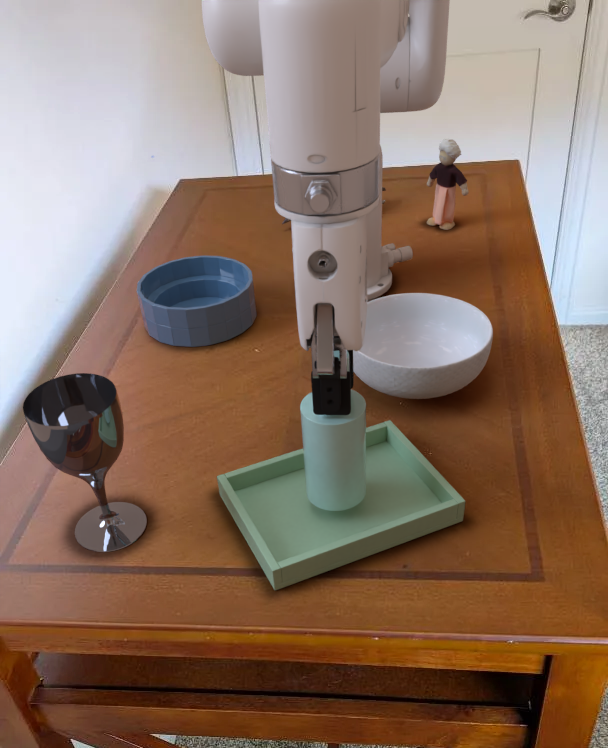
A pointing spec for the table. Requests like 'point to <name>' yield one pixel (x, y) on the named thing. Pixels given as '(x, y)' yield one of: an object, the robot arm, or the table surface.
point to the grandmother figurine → (446, 185)
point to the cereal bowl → (422, 345)
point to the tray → (338, 528)
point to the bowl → (197, 300)
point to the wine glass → (86, 450)
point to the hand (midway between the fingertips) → (333, 398)
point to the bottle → (335, 454)
